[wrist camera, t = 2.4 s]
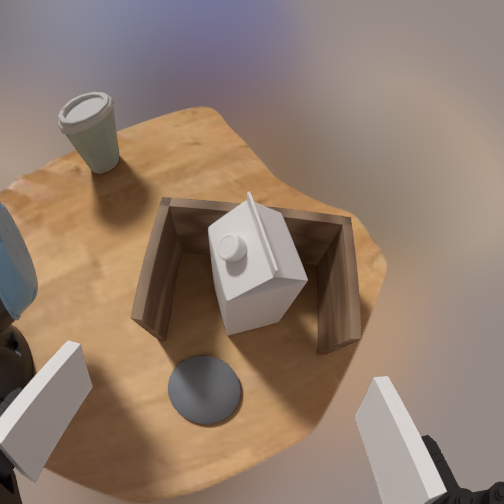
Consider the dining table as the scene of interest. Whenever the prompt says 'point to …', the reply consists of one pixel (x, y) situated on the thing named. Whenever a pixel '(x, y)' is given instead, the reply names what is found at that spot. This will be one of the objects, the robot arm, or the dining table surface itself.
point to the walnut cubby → (197, 241)
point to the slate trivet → (204, 389)
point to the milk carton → (254, 266)
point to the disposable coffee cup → (92, 130)
